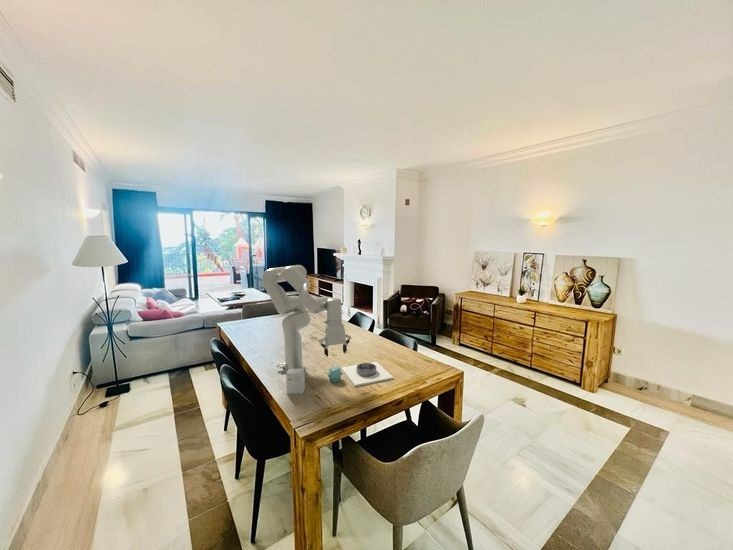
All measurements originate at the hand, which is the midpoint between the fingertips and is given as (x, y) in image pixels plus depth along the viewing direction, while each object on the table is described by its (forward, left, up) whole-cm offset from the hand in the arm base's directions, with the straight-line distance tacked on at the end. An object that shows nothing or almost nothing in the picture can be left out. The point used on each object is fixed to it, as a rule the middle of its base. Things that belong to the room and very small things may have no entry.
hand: (335, 354), depth 156 cm
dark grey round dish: (+18, 0, -14) cm, 23 cm away
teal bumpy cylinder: (0, +1, -14) cm, 14 cm away
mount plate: (+18, 0, -14) cm, 23 cm away
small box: (-21, -3, -15) cm, 26 cm away
